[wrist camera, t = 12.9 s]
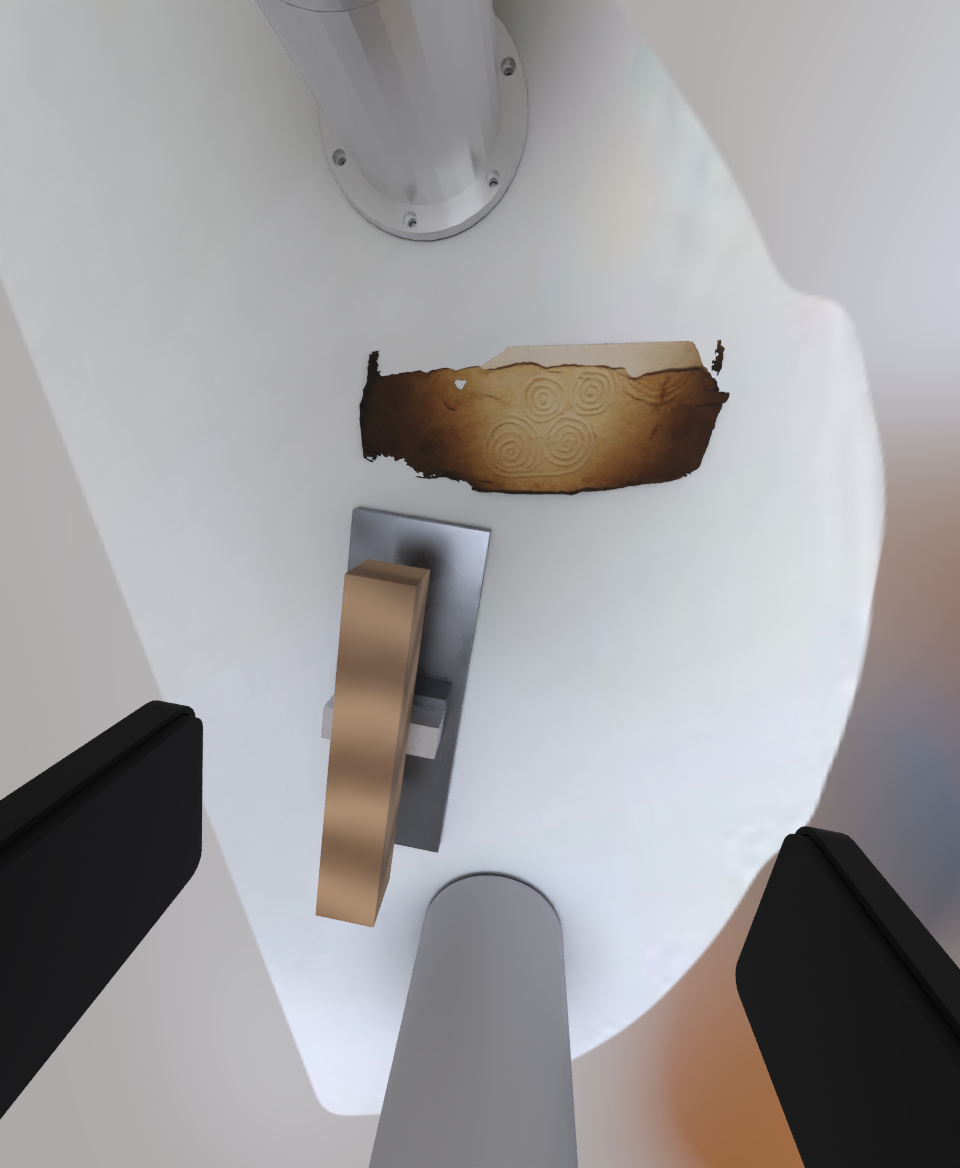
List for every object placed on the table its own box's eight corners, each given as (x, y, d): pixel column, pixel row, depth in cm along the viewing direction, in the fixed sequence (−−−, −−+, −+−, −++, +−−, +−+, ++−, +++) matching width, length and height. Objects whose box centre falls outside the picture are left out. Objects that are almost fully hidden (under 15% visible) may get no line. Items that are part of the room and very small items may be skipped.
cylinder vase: (399, 929, 48) (267, 1416, 24) (478, 845, 45) (418, 1310, 21) (506, 1000, 49) (482, 1536, 25) (590, 923, 46) (658, 1454, 22)
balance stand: (358, 507, 38) (323, 519, 31) (491, 529, 37) (482, 546, 31) (330, 819, 45) (296, 881, 39) (440, 842, 45) (425, 908, 38)
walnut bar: (367, 558, 32) (344, 574, 28) (430, 569, 32) (416, 586, 28) (337, 868, 38) (315, 915, 34) (389, 879, 38) (373, 927, 34)
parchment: (731, 340, 33) (737, 337, 32) (715, 494, 35) (719, 495, 34) (360, 349, 36) (356, 346, 35) (367, 492, 38) (363, 493, 37)
